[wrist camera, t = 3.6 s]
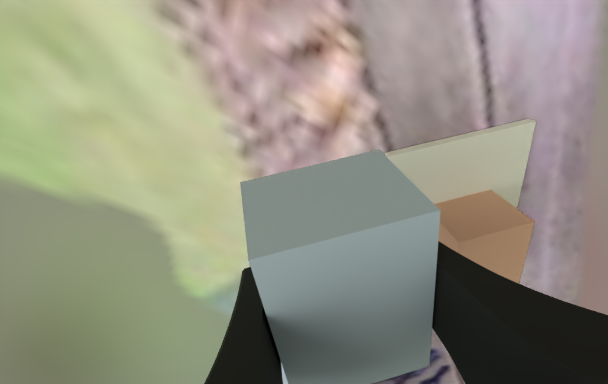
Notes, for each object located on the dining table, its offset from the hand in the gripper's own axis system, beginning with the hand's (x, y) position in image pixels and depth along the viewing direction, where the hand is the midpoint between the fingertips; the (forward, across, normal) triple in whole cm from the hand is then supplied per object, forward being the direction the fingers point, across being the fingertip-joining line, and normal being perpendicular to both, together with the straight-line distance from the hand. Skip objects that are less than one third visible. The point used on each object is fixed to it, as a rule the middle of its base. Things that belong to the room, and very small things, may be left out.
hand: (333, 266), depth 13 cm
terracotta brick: (+9, -11, +9) cm, 17 cm away
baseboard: (+9, -11, +9) cm, 17 cm away
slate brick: (+1, 0, 0) cm, 1 cm away
